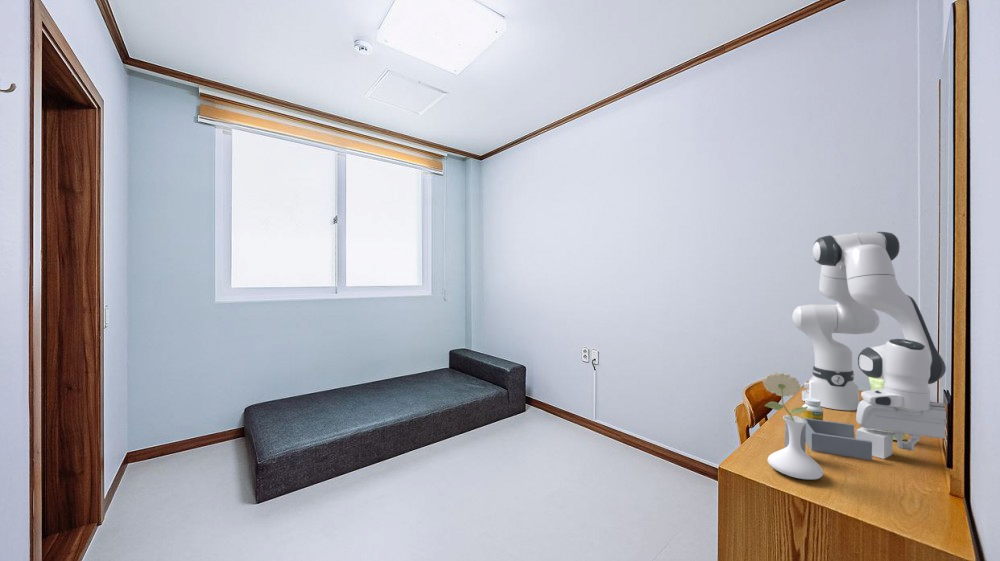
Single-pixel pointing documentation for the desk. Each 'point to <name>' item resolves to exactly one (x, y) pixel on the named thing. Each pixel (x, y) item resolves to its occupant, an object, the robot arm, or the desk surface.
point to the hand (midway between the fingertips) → (905, 448)
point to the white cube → (877, 441)
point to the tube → (879, 385)
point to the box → (836, 439)
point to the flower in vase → (791, 432)
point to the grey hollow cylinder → (802, 438)
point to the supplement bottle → (813, 409)
